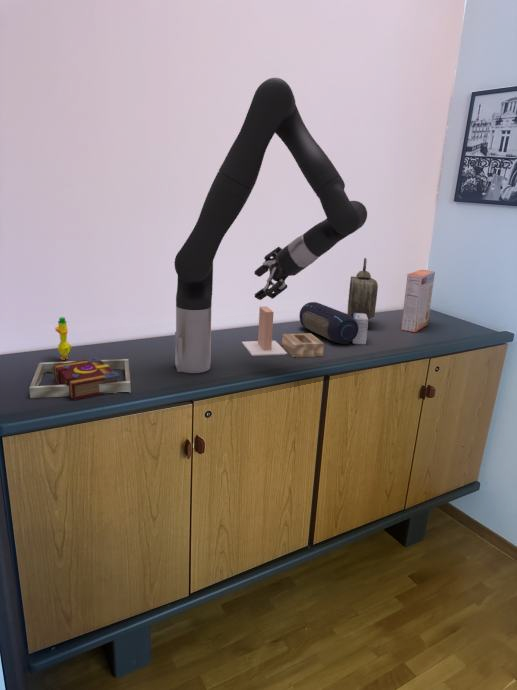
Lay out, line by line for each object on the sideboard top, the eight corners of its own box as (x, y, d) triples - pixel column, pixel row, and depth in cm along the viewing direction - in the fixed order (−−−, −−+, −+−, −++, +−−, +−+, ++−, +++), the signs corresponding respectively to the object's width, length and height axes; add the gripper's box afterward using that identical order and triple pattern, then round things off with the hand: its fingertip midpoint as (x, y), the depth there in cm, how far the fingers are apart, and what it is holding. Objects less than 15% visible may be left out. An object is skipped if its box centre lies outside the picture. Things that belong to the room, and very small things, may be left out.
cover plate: (263, 350, 154) (265, 312, 151) (257, 343, 161) (259, 306, 157) (271, 350, 155) (273, 311, 151) (265, 343, 161) (267, 306, 158)
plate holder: (293, 357, 150) (294, 344, 149) (281, 346, 160) (282, 334, 159) (322, 356, 153) (323, 343, 152) (309, 345, 163) (310, 333, 162)
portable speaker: (293, 327, 182) (295, 300, 179) (316, 325, 187) (319, 298, 184) (335, 348, 161) (338, 317, 158) (360, 345, 166) (363, 315, 163)
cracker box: (412, 322, 197) (420, 269, 190) (428, 325, 193) (436, 271, 187) (399, 330, 186) (406, 273, 179) (415, 333, 182) (423, 275, 176)
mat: (252, 356, 150) (252, 354, 150) (241, 342, 162) (242, 341, 162) (287, 354, 153) (287, 353, 153) (274, 341, 165) (275, 340, 165)
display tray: (30, 398, 115) (29, 388, 114) (40, 371, 130) (39, 362, 130) (130, 392, 120) (130, 382, 120) (128, 367, 136) (128, 358, 135)
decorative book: (72, 402, 115) (71, 382, 113) (52, 379, 127) (50, 360, 125) (121, 392, 121) (120, 373, 120) (96, 371, 133) (95, 353, 132)
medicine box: (365, 345, 166) (368, 319, 163) (352, 343, 167) (354, 318, 164) (364, 338, 174) (366, 313, 171) (350, 337, 174) (353, 312, 171)
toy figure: (52, 357, 141) (49, 315, 138) (65, 354, 144) (62, 313, 140) (62, 363, 137) (59, 320, 133) (75, 361, 139) (72, 318, 135)
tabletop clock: (346, 320, 196) (352, 254, 189) (370, 321, 195) (377, 256, 188) (347, 329, 183) (354, 260, 175) (372, 332, 182) (381, 261, 174)
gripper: (287, 228, 133) (246, 260, 143) (290, 267, 125) (246, 299, 135) (307, 242, 137) (265, 273, 147) (311, 281, 129) (266, 311, 139)
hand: (256, 285), depth 141 cm, fingers open, 8 cm apart
